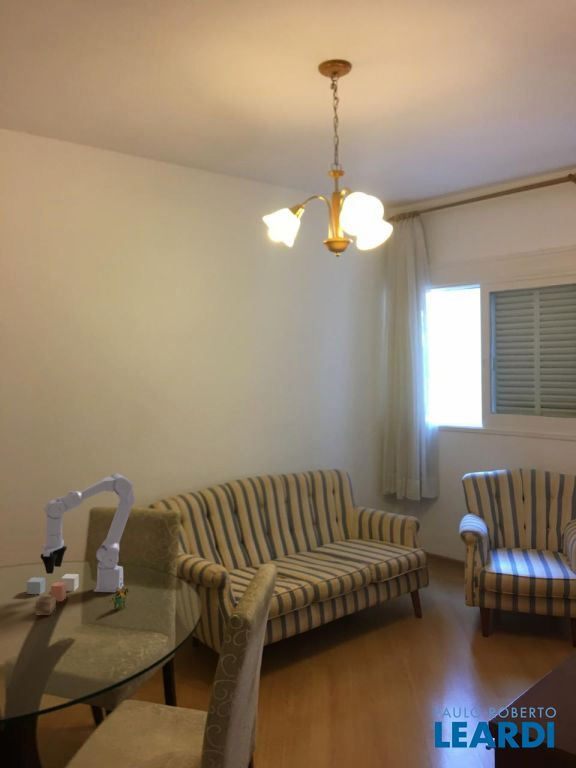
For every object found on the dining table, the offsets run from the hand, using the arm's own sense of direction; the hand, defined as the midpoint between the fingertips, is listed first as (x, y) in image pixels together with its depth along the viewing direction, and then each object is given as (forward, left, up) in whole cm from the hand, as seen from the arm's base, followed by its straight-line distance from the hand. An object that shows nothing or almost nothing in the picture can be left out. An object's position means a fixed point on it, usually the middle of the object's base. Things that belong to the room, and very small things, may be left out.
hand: (53, 569), depth 237 cm
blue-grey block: (+8, -4, -10) cm, 14 cm away
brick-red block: (-3, +3, -10) cm, 11 cm away
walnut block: (-3, +15, -10) cm, 18 cm away
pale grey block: (-3, -9, -10) cm, 14 cm away
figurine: (-27, +10, -10) cm, 30 cm away
